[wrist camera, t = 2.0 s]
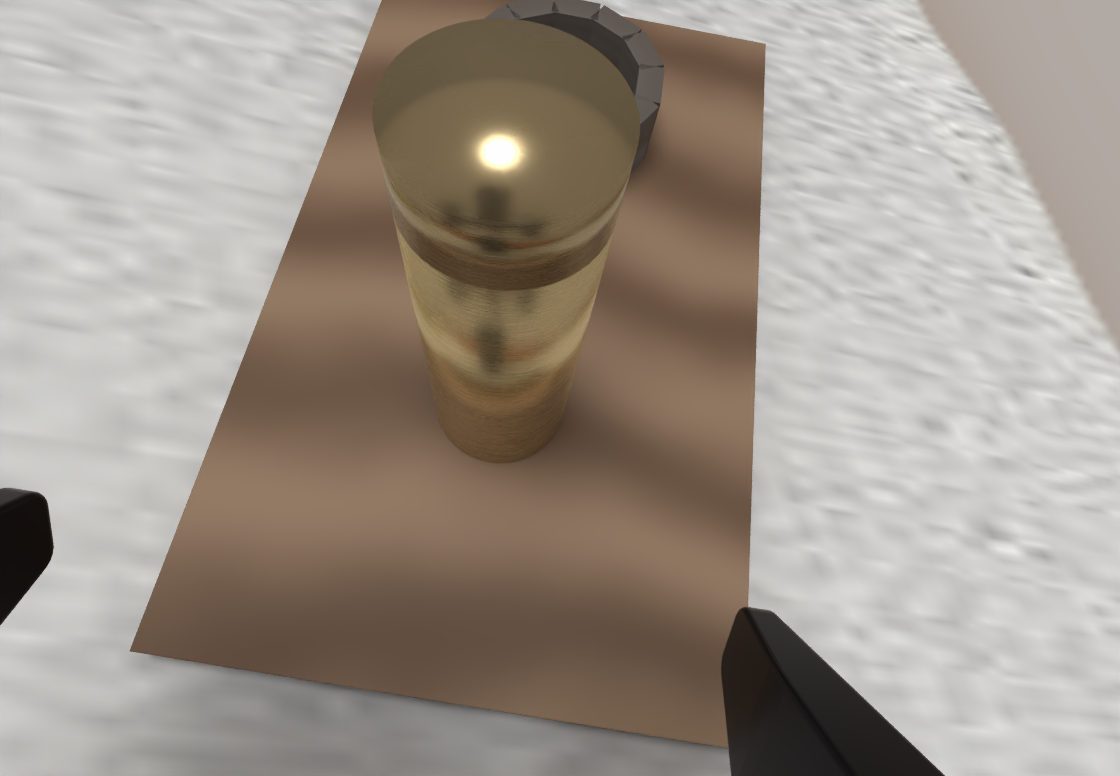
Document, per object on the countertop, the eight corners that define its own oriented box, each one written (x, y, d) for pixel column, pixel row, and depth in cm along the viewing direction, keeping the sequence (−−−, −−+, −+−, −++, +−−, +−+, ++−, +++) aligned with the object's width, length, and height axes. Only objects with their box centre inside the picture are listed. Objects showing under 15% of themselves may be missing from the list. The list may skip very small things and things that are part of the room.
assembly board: (729, 745, 20) (785, 765, 16) (149, 651, 20) (66, 649, 16) (756, 65, 32) (792, -17, 28) (396, -5, 32) (383, -97, 28)
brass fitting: (589, 403, 23) (692, 122, 11) (500, 490, 21) (507, 271, 10) (501, 323, 24) (509, -16, 12) (410, 401, 22) (314, 101, 10)
